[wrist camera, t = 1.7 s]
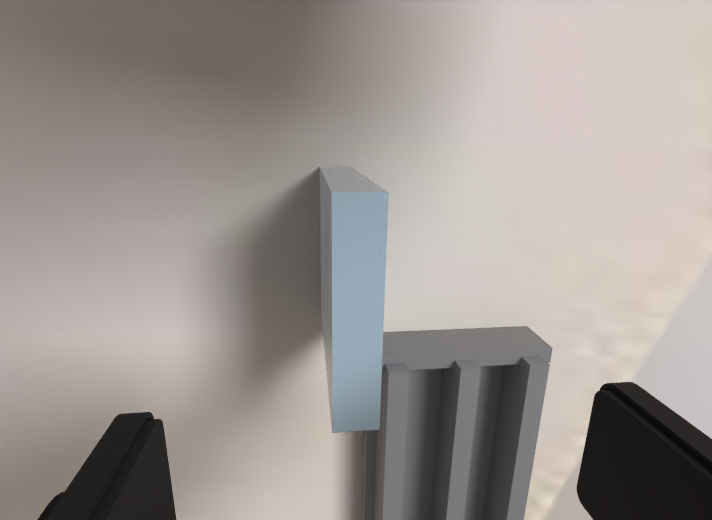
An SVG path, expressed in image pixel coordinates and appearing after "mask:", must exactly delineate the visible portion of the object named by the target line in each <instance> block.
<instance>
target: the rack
mask: <svg viewBox="0 0 712 520" xmlns="http://www.w3.org/2000/svg"><path fill="white" fill-rule="evenodd" d="M551 353H552V347H551V346H549V345H548V344H547V343H546V342H545V341H544V340H542V339H541V338H540V337H539V336H538V335H537V334H535V333H534V332H533V331H532V330H531V329H530V328H528V327H527V326H524V327H501V328H477V329H453V330H430V331H406V332H383V350H382V378H381V405H380V430H366V431H364V460H363V503H362V520H524V514H525V508H526V502H527V496H528V490H529V484H530V478H531V472H532V466H533V461H534V455H535V449H536V443H537V437H538V431H539V425H540V419H541V413H542V407H543V401H544V395H545V389H546V383H547V377H548V371H549V365H550V364H548V363H550V359H551Z"/></svg>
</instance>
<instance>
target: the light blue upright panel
mask: <svg viewBox="0 0 712 520" xmlns="http://www.w3.org/2000/svg"><path fill="white" fill-rule="evenodd" d="M387 212H388V192H387V191H386V190H384V189H383V188H381V187H380V186H378V185H377V184H376V183H374V182H373V181H371V180H370V179H368V178H367V177H365V176H364V175H362V174H361V173H359V172H358V171H356V170H355V169H353V168H352V167H320V250H321V316H322V327H323V338H324V348H325V359H326V370H327V380H328V391H329V402H330V413H331V423H332V433H337V432H351V431H366V430H380V405H381V378H382V350H383V322H384V295H385V267H386V239H387Z"/></svg>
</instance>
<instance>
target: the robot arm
mask: <svg viewBox="0 0 712 520" xmlns="http://www.w3.org/2000/svg"><path fill="white" fill-rule="evenodd" d="M577 493H578V497H579V500H580V502H581V504H582V505H583V507H584V508H585V509H586V511H587V512H588V513H589V514H590V516H591V517H592V518H593V520H712V439H710V438H709V437H708V436H707V435H705V434H704V433H702V432H701V431H700V430H698V429H697V428H696V427H694V426H693V425H692V424H690V423H689V422H687V421H686V420H685V419H683V418H682V417H681V416H679V415H678V414H677V413H675V412H674V411H672V410H671V409H670V408H668V407H667V406H666V405H664V404H663V403H661V402H660V401H659V400H657V399H656V398H655V397H653V396H652V395H650V394H649V393H648V392H646V391H645V390H644V389H642V388H641V387H639V386H638V385H636V384H634V383H632V382H621V383H607V384H604V385H603V386H602V387H601V388H600V391H598V392H597V393H596V394H595V397H594V402H593V407H592V412H591V417H590V422H589V427H588V432H587V437H586V442H585V447H584V452H583V457H582V463H581V468H580V473H579V478H578V483H577ZM38 520H176V515H175V507H174V500H173V493H172V485H171V478H170V471H169V463H168V456H167V449H166V441H165V434H164V427H163V422H162V420H161V419H154V417H153V415H152V413H150V412H142V413H126V414H119V415H117V416H116V418H115V419H114V420H113V422H112V423H111V425H110V426H109V428H108V429H107V431H106V432H105V433H104V435H103V436H102V438H101V439H100V441H99V442H98V444H97V445H96V447H95V448H94V450H93V451H92V453H91V454H90V455H89V457H88V458H87V460H86V461H85V463H84V464H83V466H82V467H81V469H80V470H79V472H78V473H77V475H76V476H75V478H74V479H73V480H72V482H71V483H70V485H69V486H68V488H67V489H66V491H65V492H62V493H60V494H58V495H57V496H55V497H54V498H53V500H52V501H51V502H50V503H49V504H48V505H47V507H46V508H45V510H44V511H43V513H42V514H41V515H40V517H39V518H38Z"/></svg>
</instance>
